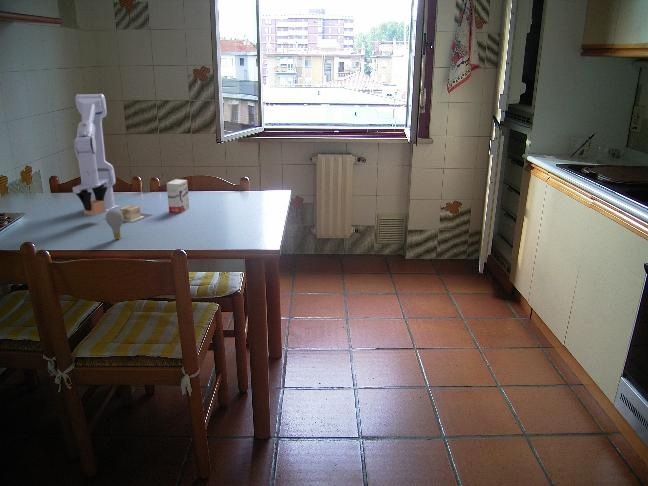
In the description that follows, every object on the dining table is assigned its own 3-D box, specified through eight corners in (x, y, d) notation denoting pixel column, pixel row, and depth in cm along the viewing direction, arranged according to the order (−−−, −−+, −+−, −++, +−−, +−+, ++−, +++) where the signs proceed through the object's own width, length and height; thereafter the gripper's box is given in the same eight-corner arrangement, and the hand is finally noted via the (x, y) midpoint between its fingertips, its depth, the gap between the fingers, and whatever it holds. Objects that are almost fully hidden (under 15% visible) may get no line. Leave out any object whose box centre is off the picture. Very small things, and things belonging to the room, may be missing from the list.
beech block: (120, 219, 200) (119, 208, 199) (130, 215, 205) (129, 205, 203) (131, 220, 198) (130, 209, 197) (140, 216, 203) (139, 206, 202)
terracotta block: (84, 213, 194) (82, 202, 193) (94, 210, 199) (93, 199, 197) (95, 215, 192) (93, 204, 191) (105, 211, 197) (104, 201, 196)
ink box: (180, 214, 207) (177, 184, 204) (168, 213, 208) (165, 183, 205) (190, 208, 215) (187, 179, 212) (178, 207, 216) (176, 178, 213)
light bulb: (111, 236, 181) (107, 207, 178) (128, 236, 181) (124, 207, 178) (106, 242, 176) (102, 212, 173) (123, 241, 176) (119, 211, 173)
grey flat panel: (102, 219, 201) (102, 219, 200) (125, 211, 211) (125, 211, 211) (132, 223, 195) (132, 223, 195) (154, 215, 206) (154, 214, 206)
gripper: (81, 176, 183) (87, 214, 187) (112, 168, 195) (117, 204, 200) (65, 174, 185) (72, 212, 190) (97, 166, 198) (102, 202, 203)
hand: (94, 208), depth 195 cm, fingers closed on terracotta block, 5 cm apart
